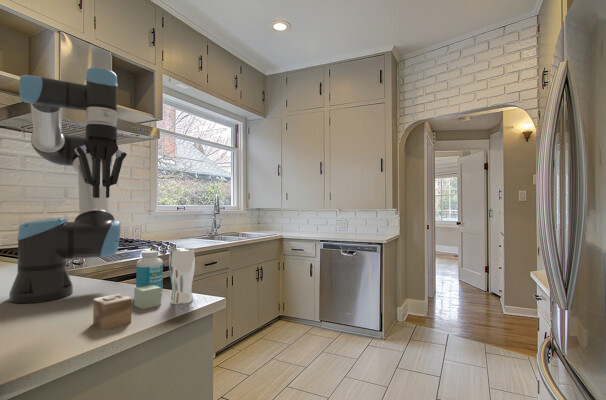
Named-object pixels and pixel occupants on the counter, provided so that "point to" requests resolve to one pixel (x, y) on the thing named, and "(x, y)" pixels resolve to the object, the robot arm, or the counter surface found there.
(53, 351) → the counter surface
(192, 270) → the beer glass
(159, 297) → the sage block
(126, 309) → the walnut block
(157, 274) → the pill bottle
